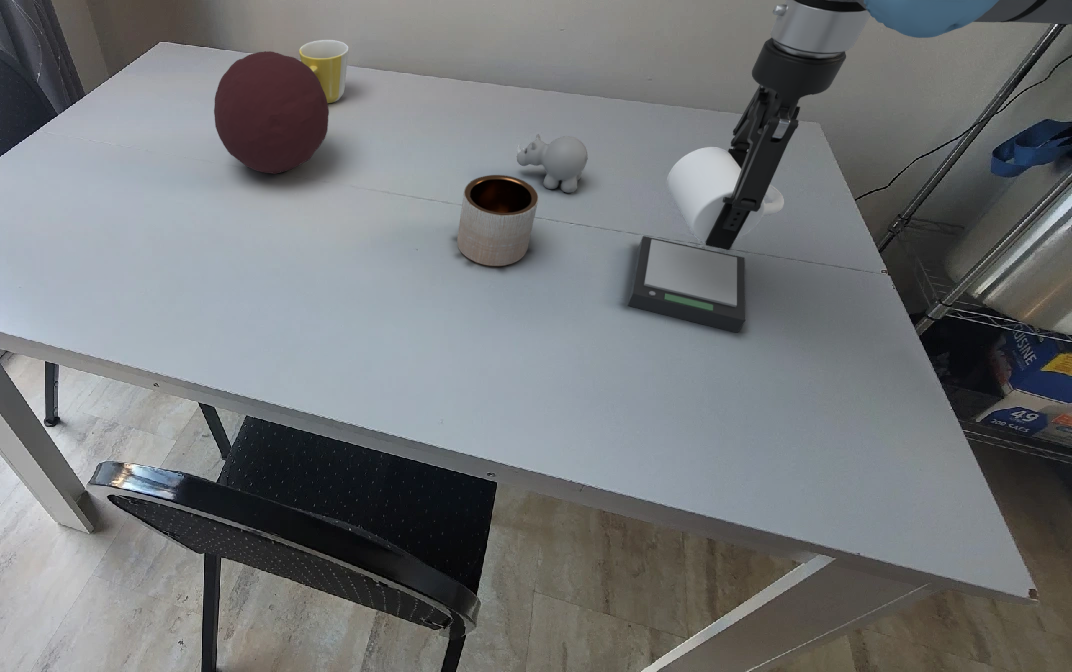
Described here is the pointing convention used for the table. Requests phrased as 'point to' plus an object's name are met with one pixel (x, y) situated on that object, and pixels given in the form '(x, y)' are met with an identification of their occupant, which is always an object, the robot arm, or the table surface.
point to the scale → (689, 284)
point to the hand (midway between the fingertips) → (718, 219)
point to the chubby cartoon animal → (556, 160)
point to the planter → (496, 219)
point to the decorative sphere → (271, 112)
